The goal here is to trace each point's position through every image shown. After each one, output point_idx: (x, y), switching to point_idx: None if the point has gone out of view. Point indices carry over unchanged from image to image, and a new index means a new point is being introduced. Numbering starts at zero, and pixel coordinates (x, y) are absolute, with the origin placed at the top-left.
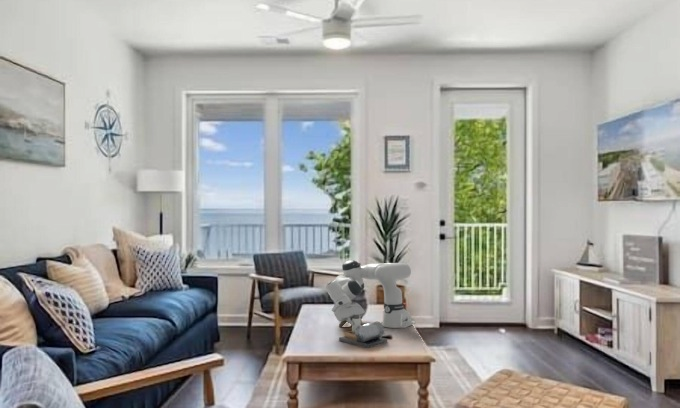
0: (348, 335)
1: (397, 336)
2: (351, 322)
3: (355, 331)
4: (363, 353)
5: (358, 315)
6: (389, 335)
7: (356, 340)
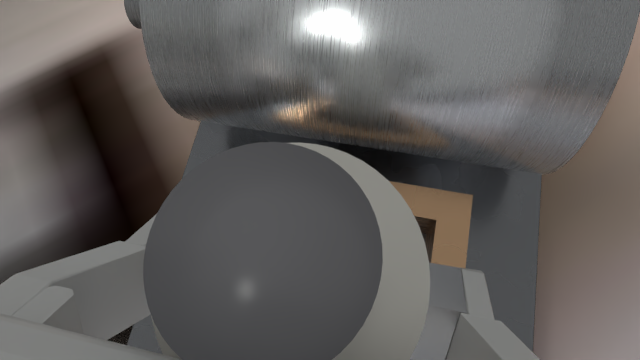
0: None
1: (26, 35)
2: (486, 320)
3: (571, 152)
4: None
5: (275, 148)
6: (8, 106)
7: (495, 196)
